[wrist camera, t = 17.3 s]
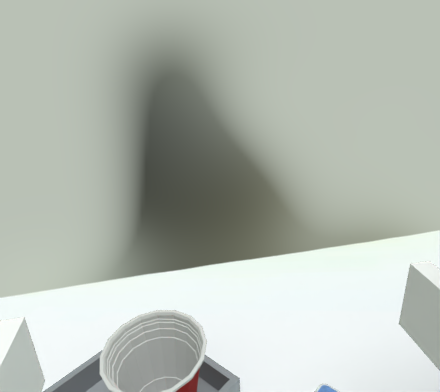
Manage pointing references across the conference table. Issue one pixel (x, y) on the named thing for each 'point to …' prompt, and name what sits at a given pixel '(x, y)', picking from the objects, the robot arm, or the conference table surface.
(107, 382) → the plastic cup
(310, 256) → the conference table surface
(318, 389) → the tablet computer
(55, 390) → the bin
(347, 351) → the conference table surface
